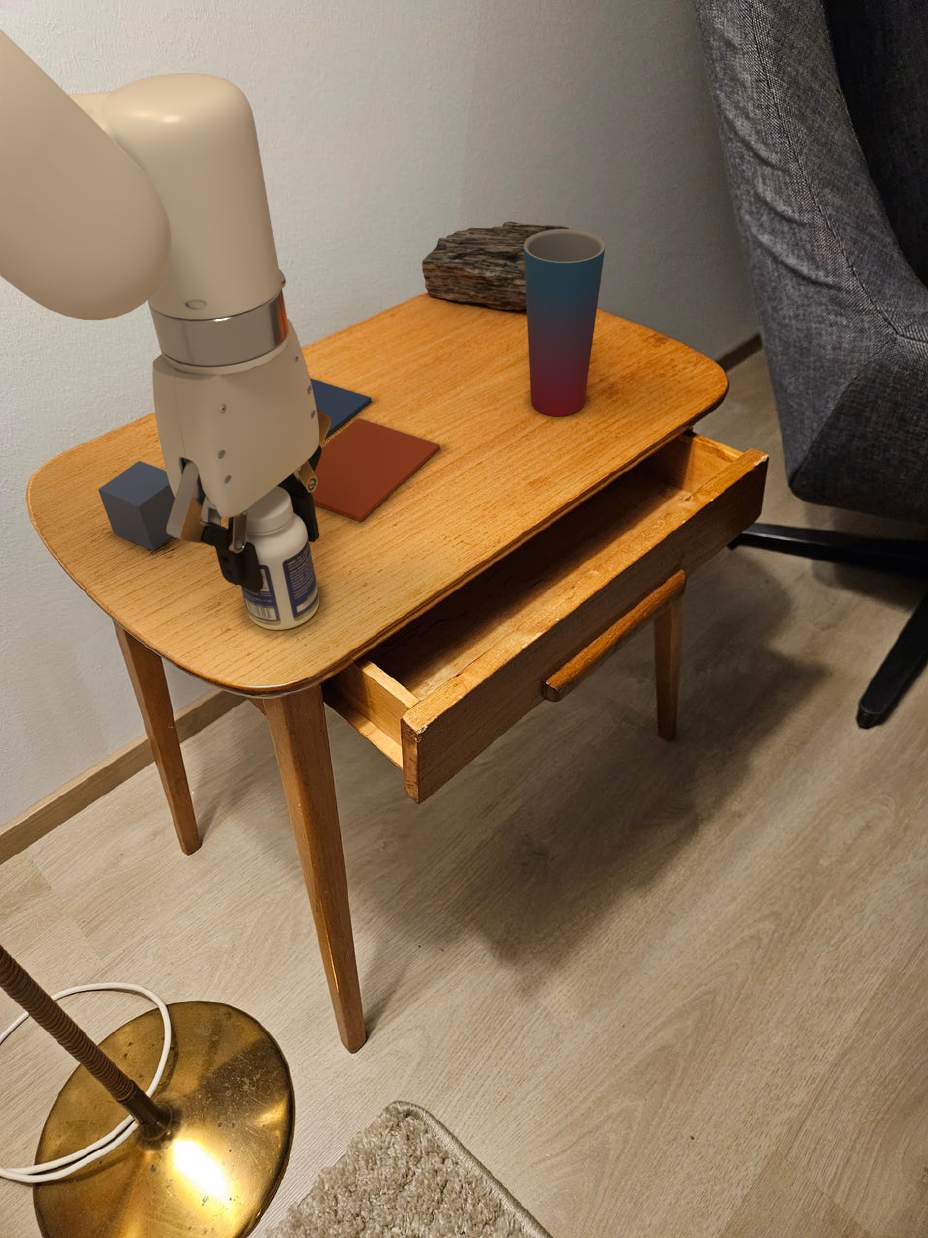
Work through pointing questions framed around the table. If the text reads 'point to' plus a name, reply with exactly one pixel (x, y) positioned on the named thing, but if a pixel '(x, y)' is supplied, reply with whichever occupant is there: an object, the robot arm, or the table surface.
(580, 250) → the cup
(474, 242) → the rock
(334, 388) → the blue mat
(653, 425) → the table surface
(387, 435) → the rust mat
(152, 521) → the blue block
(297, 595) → the pill bottle
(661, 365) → the table surface
